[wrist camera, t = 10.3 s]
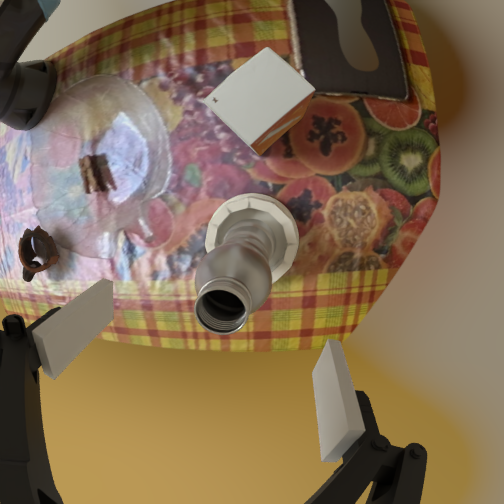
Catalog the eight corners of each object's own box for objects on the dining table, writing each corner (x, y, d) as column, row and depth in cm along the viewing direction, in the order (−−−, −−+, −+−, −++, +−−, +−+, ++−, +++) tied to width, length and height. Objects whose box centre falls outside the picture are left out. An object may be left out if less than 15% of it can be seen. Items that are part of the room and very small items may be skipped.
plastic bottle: (285, 249, 36) (289, 330, 17) (241, 270, 38) (205, 362, 19) (262, 206, 35) (241, 246, 16) (217, 230, 37) (155, 291, 18)
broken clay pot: (33, 215, 41) (19, 220, 34) (70, 231, 45) (60, 240, 38) (20, 268, 41) (6, 280, 34) (55, 284, 46) (45, 299, 39)
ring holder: (218, 183, 36) (212, 185, 33) (308, 205, 35) (311, 209, 32) (201, 268, 39) (195, 276, 36) (285, 289, 39) (285, 299, 36)
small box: (260, 157, 34) (249, 148, 22) (227, 124, 33) (199, 100, 21) (304, 117, 32) (317, 88, 20) (271, 85, 31) (266, 44, 19)
